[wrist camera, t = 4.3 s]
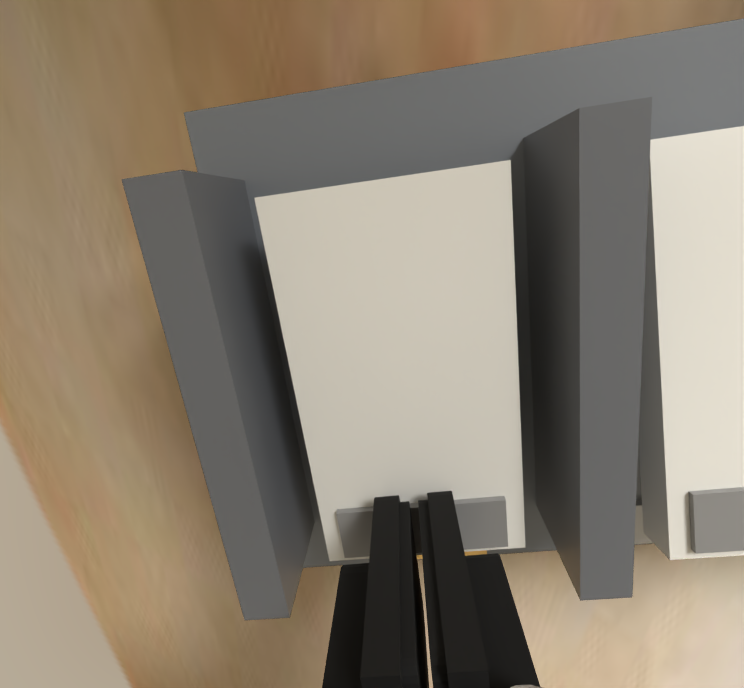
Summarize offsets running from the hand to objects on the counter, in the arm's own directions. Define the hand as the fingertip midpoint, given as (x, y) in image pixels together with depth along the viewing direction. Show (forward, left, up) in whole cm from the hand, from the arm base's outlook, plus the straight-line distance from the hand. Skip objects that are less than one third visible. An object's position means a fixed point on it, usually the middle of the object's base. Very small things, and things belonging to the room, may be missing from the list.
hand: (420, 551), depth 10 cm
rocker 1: (-4, 0, -1) cm, 4 cm away
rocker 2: (-4, +7, -1) cm, 8 cm away
